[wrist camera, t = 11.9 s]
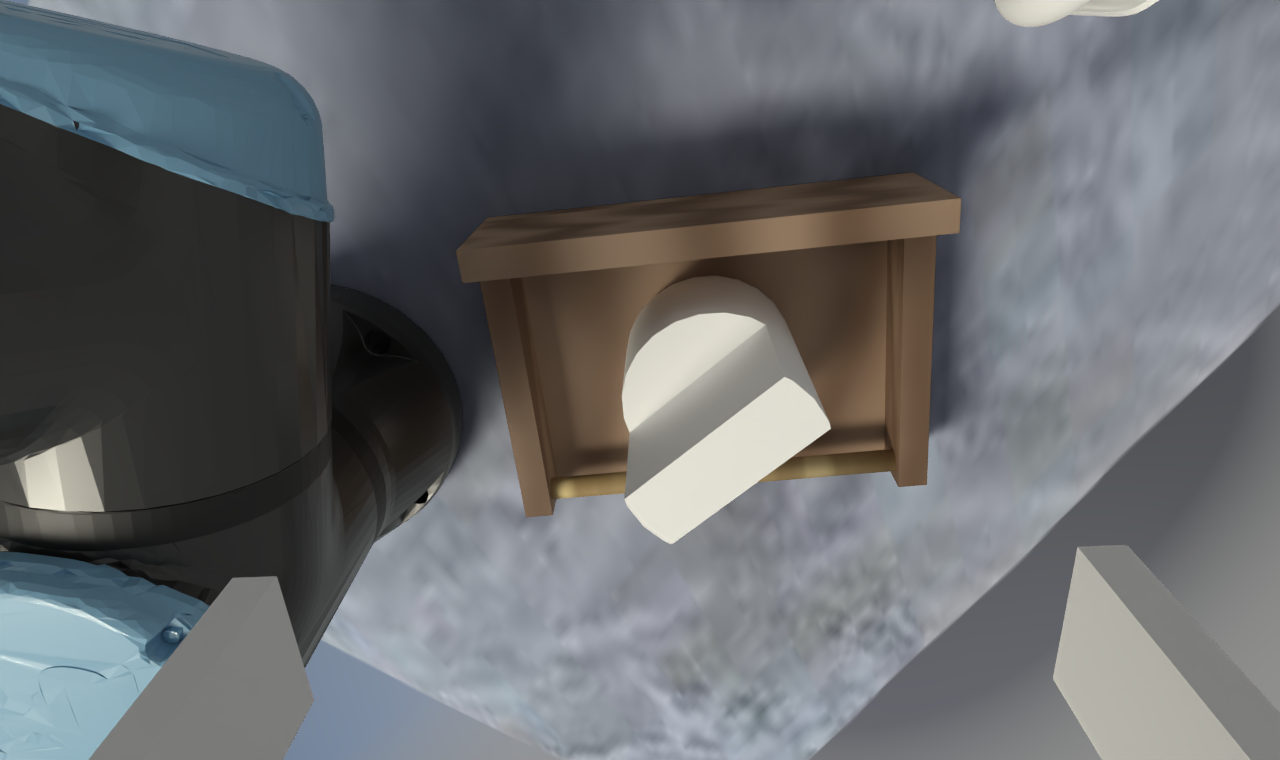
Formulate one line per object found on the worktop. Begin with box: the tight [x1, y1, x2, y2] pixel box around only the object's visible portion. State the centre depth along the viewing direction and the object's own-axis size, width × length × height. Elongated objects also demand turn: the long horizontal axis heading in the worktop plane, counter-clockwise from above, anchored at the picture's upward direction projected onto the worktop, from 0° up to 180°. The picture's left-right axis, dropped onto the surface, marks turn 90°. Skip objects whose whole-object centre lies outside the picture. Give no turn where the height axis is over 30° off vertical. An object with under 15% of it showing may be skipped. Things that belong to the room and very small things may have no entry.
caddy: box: [456, 172, 961, 517], centre depth 41 cm, size 22×16×7 cm
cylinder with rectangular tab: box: [622, 276, 831, 544], centre depth 38 cm, size 9×9×12 cm
